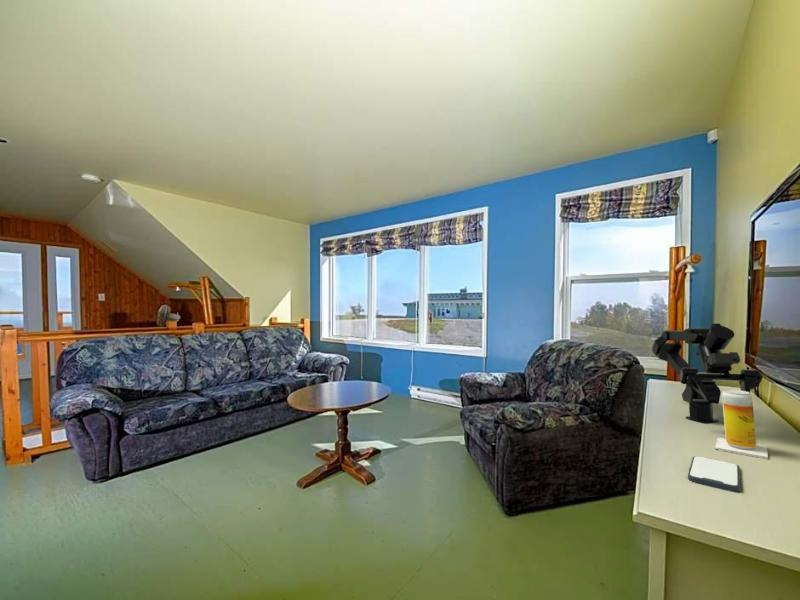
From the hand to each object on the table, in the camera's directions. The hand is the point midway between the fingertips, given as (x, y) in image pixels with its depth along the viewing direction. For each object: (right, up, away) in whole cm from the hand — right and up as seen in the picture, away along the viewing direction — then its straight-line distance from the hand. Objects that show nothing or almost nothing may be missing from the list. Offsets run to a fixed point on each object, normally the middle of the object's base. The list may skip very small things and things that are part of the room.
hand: (727, 400), depth 103 cm
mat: (-3, -11, -7) cm, 14 cm away
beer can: (-3, -11, -7) cm, 13 cm away
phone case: (-23, -12, -21) cm, 33 cm away
